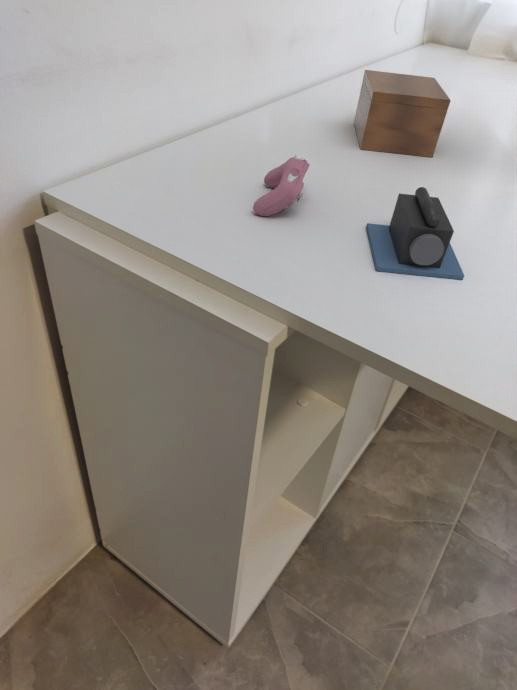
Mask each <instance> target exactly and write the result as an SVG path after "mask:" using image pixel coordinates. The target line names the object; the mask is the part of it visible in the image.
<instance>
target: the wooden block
mask: <svg viewBox="0 0 517 690" xmlns="http://www.w3.org/2000/svg"><path fill="white" fill-rule="evenodd" d="M451 101H452V100H451V99H450V97H449V96H448V94H447V93H446V91H445V90H444V89H443V88H442V86H441V84H440V83H439V82H438V80H437V79H436V77H432V76H431V77H430V76H423V75H414V74H406V73H396V72H388V71H380V70H372V69H371V70H370V69H364V71H363V76H362V82H361V87H360V91H359V96H358V101H357V106H356V111H355V115H354V120H353V127H354V130H355V134H356V137H357V142H358V146H359V149H360V150H364V151H372V152H381V153H388V154H389V153H390V154H391V153H392V154H398V155H408V156H416V157H417V156H418V157H425V158H426V157H427V158H433V157H434V154H435V152H436V151H435V150H436V147H437V145H438V141H439V139H440V135H441V132H442V129H443V126H444V123H445V120H446V117H447V114H448V109H449V107H450V104H451Z"/></svg>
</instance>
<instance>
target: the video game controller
mask: <svg viewBox="0 0 517 690" xmlns="http://www.w3.org/2000/svg"><path fill="white" fill-rule="evenodd" d="M309 167H310V163H308V161H307V160H306V159H303V158H302V157H298V156H297V155H296V154H295V155H294V157H290V158H288V159H287V160H286V161H285V162H283V163H282V164H281V165H278V166H277V167H275V168H272V169H271V170H269V171H268V172H267V173H266V174H265V176H264V178H263V183H264V185H265V186H266V188H269V189H272V190H271V191H269V192H266V193H265V194H263V195H262V196H260V197H259V198H257V199H256V201H254V203H253V206H252V210H253V213H254V214H256V215H257V216H261V217H263V216H264V217H265V216H266V217H267V216H268V217H269V216H273V215H275V214H277V213H279V212H281V211H285V210H286V209H287V208H288V207H290V206H292V205H293V204H294V202H295V201H296V202H297V203H299V202H301V201H302V199H303V197H304V193H302V191H303V188H304V185H305V182H304V178H305V176H306V173H307V171H308V169H309Z"/></svg>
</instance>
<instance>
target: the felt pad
mask: <svg viewBox="0 0 517 690" xmlns="http://www.w3.org/2000/svg"><path fill="white" fill-rule="evenodd" d="M389 226H390V224H389V225H388V224H379V223H369V222H367V223H366V226H365V228H366V233H367V237H368V241H369V246H370V249H371V250H370V251H371V255H372V259H373V264H374V268H375V271H376V272H383V273H394V274H404V275H411V276H412V275H413V276H420V277H421V276H422V277H429V278H440V279H450V280H452V279H453V280H460V281H463V280H464V278H465V273H464V272H463V269H462V267H461V265H460V263H459V260H458V258H457V255H456V254H455V251H454V249H453V246H452V244H451V242H450V243H449V246H448V248H447V251H446V254H445V256H444V259H443V261H442V264H441V267H440V268H434V267H424V266H415V265H405V264H399V263H398V259H397V256H396V252H395V249H394V246H393V242H392V239H391V235H390V232H389Z"/></svg>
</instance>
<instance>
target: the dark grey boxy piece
mask: <svg viewBox="0 0 517 690" xmlns="http://www.w3.org/2000/svg"><path fill="white" fill-rule="evenodd" d="M454 230H455V229H454V228H453V226H452V224H451V222H450V219H449V217H448V215H447V213H446V211H445V209H444V207H443V204H442V202H441V200H440V198H439V197H435V196H430V193H429V191H428V189H427V188H426V187H424V186H420V187H418V188H416V189H415V191H414V194H409V193H398V195H397V198H396V202H395V205H394V209H393V213H392V216H391V219H390V223H389V232H390V235H391V239H392V242H393V246H394V249H395V252H396V256H397V259H398V263H399V264H405V265H415V266H424V267H434V268H440V267H441V264H442V261H443V259H444V256H445V254H446V251H447V248H448V246H449V243H450V244H451V240H452V238H453V235H454V233H455V231H454Z"/></svg>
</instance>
